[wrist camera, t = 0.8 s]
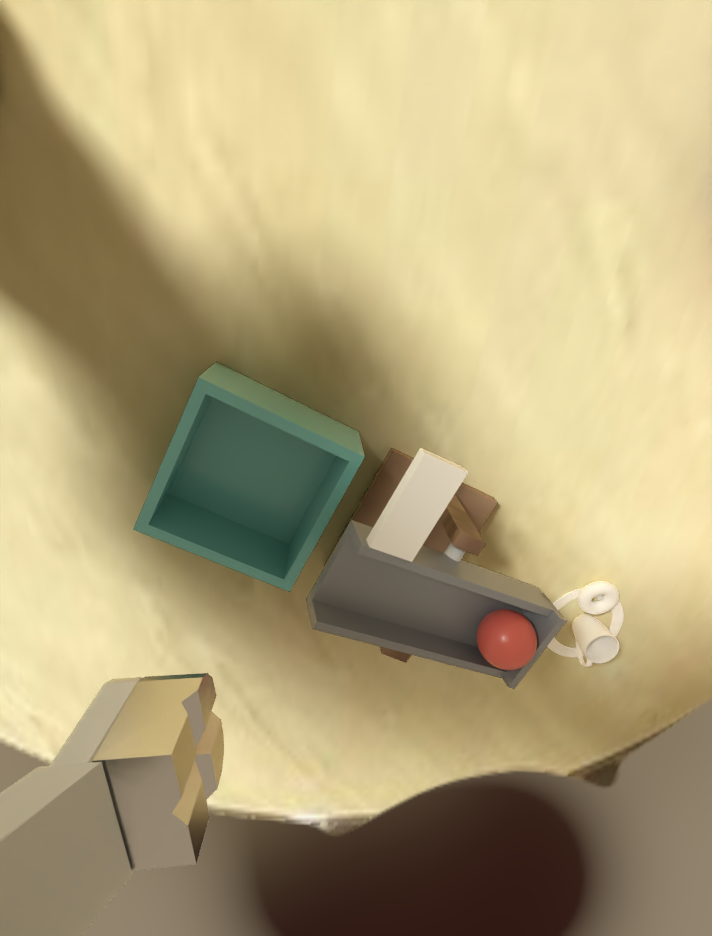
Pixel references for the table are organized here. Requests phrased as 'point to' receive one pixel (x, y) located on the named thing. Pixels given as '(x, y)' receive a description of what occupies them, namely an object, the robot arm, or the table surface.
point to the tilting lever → (421, 582)
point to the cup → (250, 478)
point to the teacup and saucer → (592, 624)
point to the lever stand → (452, 526)
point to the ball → (506, 639)
